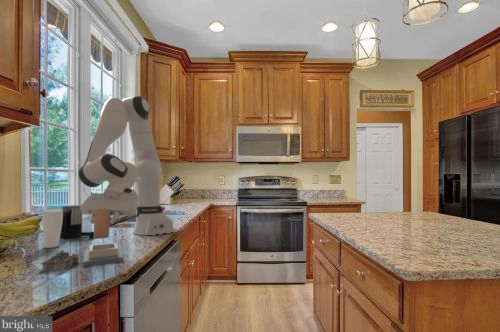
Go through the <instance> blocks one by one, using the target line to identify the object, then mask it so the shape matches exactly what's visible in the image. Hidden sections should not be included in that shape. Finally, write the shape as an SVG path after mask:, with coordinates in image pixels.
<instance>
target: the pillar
mask: <svg viewBox="0 0 500 332" xmlns="http://www.w3.org/2000/svg"><path fill="white" fill-rule="evenodd" d="M109 218H111V215H110V210H108V209H98V210H95V220H94V225H93V232H94V236H93V237H92V238H93V239H97V240H98V239H99V240H101V239H107V238H109V237H110V225H111V224H108V220H109Z"/></svg>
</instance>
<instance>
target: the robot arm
mask: <svg viewBox="0 0 500 332" xmlns="http://www.w3.org/2000/svg"><path fill="white" fill-rule="evenodd" d="M149 114H150V105H149V103H148V100H147V99H146V98H145V97H143V96H141V95H135V96H133V97H127V98H123V99H121V98H118V97H110V98H108V99H106V100H105V103H104V105H103V107H102V109H101V113H100V116H99V122H98V125H97V128H96V130H95V134H94V135H93V139H92V141H91V144H90V146H89V150H88V152H87V156H86V159H85V162H84V163H83V164H82V166H81V167H80V168H79V170H78V177H79V179H80V182H81V183H82V184H84V185H85V186H86V187H89V188H97V187H100V186H101V185H102V184H104V183H105V182H108V184H107V186H106V188H105V190H104V192H103V193H93V194H91V195H88V196H87V198H85V200H84V202H83V203H82V204H80V205H81V207H80V209H81V211H82V212H83V214H84V215H91V219H90V222H89V223H90V224H92V225H93V224H94V220H95V210H98V209H108V210H110V216H112V217H110V218H109V220H108V224H110V225H113V224H115V223H114V222H115V221H117V220H118V219H119V218H120V217H121V216H123V217H125V216H126V217H132V216H134V215H135V216H136V217H135V218H136V220H135V225H134V229H133V231H132V233H133V234H134V235H140V236H148V235H152V236H157V235H156V234H159V235H164V234H163V233H167V234H175V233H177V232H178V228H177V227H175V226H174V223H173V220H172V218H171V217H169V216H168V215H167V214H166V213H164V211H166V207H164V206H161V205H160V200H161V199H160V195H161V192H160V191H161V189H160V177H161V175H162V173H163V168H162V164H161V163H162V162H161V161H160V156H159V154H158V151H157V147H156V144H155V140H154V135H153V132H152V128H151V125H150V124H149V121H148V119H147V118H148V116H149ZM127 125H128V130H129V136H130V140H131V144H132V148H133V152H134V153H135V156H136V158H137V162H138V163H137V165H135V164H133V163H131V162H130V161H123V160H122V159H120V158H119V157H118V156H116V155H114V154H112V153H106V152H107V150H108V148H109V147H110V146H112V144H113V143H114V142H115V141H117V140H118V139H119V138H120V137H122V136H123V135H124V133H125V131H126V129H127ZM135 183H136V186H137V191H136V190H135V189H132V188H133V186H134V184H135ZM83 214H82V215H83ZM171 232H173V233H171Z"/></svg>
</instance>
